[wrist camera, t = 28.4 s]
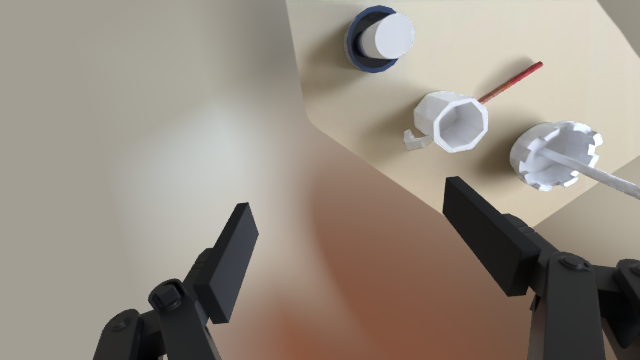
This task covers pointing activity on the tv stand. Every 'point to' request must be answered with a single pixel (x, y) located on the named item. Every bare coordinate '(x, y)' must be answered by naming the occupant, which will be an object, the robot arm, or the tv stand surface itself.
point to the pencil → (511, 82)
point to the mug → (448, 122)
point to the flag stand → (561, 157)
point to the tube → (387, 37)
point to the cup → (352, 33)
